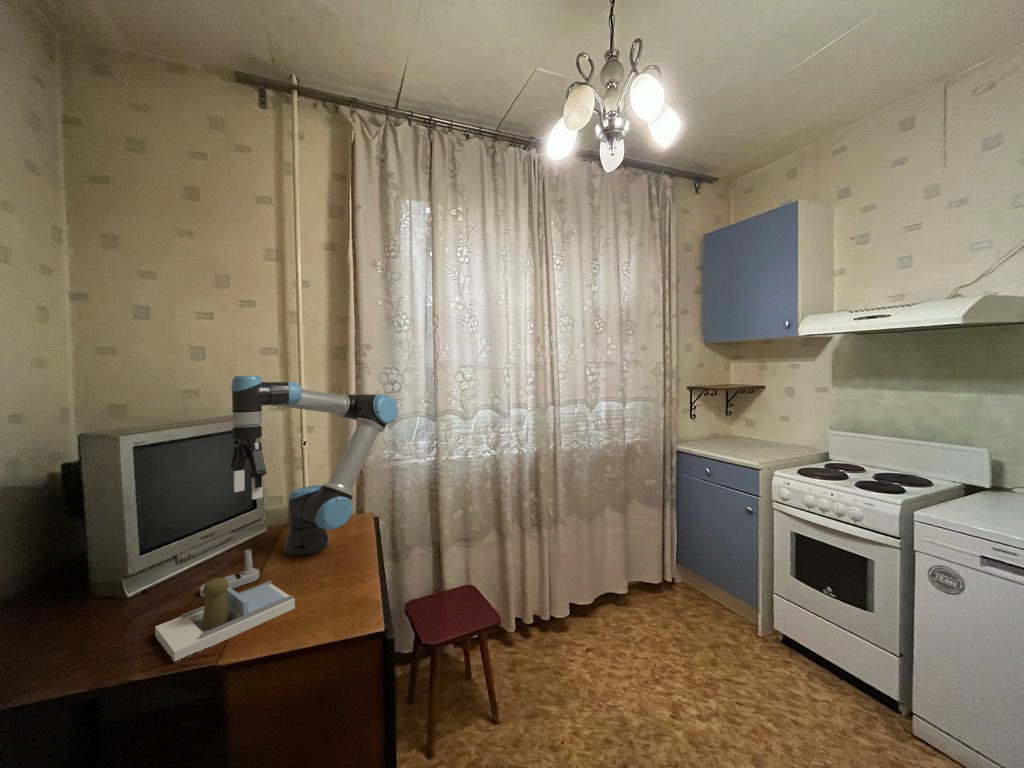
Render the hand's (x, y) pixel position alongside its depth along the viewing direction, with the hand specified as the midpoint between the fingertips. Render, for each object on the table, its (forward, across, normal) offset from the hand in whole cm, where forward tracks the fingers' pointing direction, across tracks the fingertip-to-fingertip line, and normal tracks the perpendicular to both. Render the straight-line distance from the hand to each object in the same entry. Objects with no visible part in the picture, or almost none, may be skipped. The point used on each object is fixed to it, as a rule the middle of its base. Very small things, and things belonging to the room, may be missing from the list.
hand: (247, 494), depth 119 cm
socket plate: (+29, +15, -10) cm, 34 cm away
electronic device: (+29, -6, -3) cm, 30 cm away
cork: (+28, +15, -13) cm, 34 cm away
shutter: (+26, +15, -4) cm, 30 cm away
